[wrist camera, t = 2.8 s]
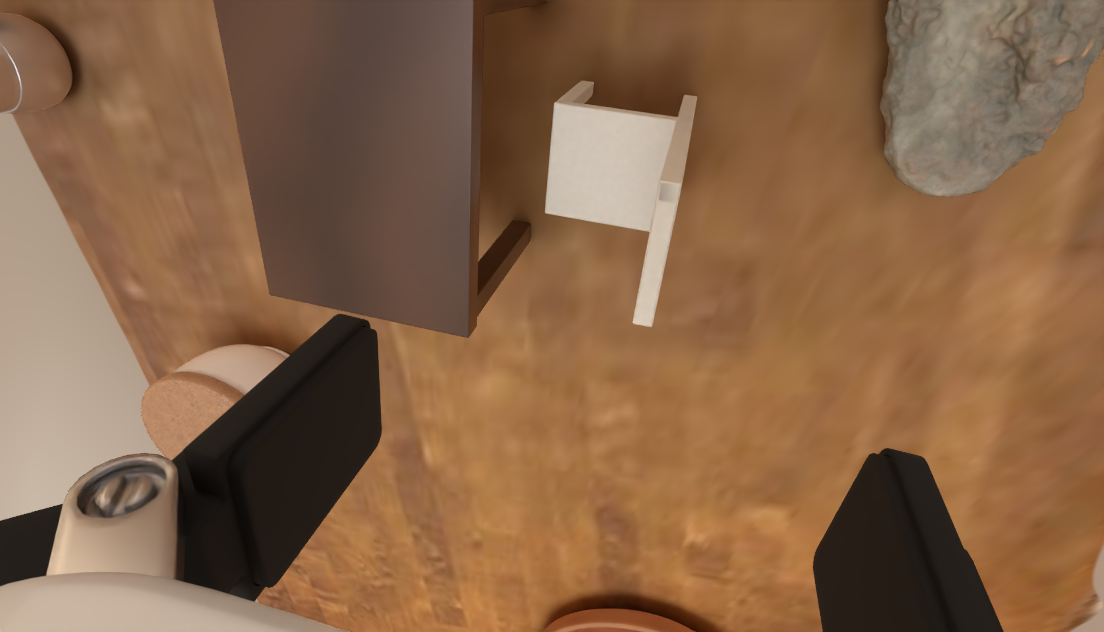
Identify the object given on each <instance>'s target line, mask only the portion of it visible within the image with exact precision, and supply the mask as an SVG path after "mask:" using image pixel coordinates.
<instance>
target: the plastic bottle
mask: <svg viewBox="0 0 1104 632" xmlns="http://www.w3.org/2000/svg"><path fill="white" fill-rule="evenodd" d="M71 86H72V70H71V65H70V62H69V59H68V57H67V55H66V53H65V51H64V49H63V47H62V46H61V44H60V43H59V42H58V40H57V39H56V38H55V37H54V35H52V34H51V33H50V32H49V31H48V30H47V29H46V28H45V27H43V26H42V25H40V24H38V23H36V22H34V21H33V20H31V19H29V18H27V17H25V16H22V15H19V14H12V13H3V12H0V113H29V112H38V111H43V110H45V109H47V108H49V107H52V106H54V105H56V104H58V103H60V102H62V101H63V99H64V98H65V97H66V95H67V94H68V92H69V90H70V88H71Z"/></svg>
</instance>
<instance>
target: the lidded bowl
mask: <svg viewBox="0 0 1104 632" xmlns="http://www.w3.org/2000/svg"><path fill="white" fill-rule="evenodd" d="M289 356H290V355H289V354H287V353H286V352H284V351H282V350H279V349H277V348H274V347H269V346H256V345H250V344H234V345H227V346H223V347H218V348H215V349H213V350H210V351H208V352H205V353H203V354H200V355H198V356H196V357H195V358H193V359H191V360H189V361H187V362H186V363H184V364H183V365H181V366H180V367H178V368H177V369H176V370H174V371H173V372H171V373H170V374H168V375H165V376H163V377H162V378H160V379H159V380H157V381H156V382H154V383H153V384H152V385H150V386H149V388H148V389H147V390H146V391H145V393H144V396H143V398H142V404H141V414H142V419H143V422H144V425H145V427H146V430H147V432H148V434H149V436H150V437H151V439H152V441H153V442H154V444H155V445H156V446H157V448H158V449H159V451H160V452H161V453H162V454H163V455H164V456H165V457H166V458H168V459H170V460H172V459H174V458H175V457H176V456H177V455H178V454H179V453H180V452H182V451H183V449H184V448H185V447H186V446H187V445H189V444H190V443H191V442H192V441H193V440H194V439H195V438H196V437H198V436H199V435H200V434H201V433H202V432H203V431H204V430H206V429H207V428H208V427H209V426H210V425H211V424H212V423H214V422H215V421H216V420H217V419H218V418H219V417H220V416H222V415H223V414H224V413H225V412H226V411H227V410H228V409H229V408H231V407H232V406H233V405H234V404H235V403H236V402H237V401H239V400H240V399H241V398H242V397H243V396H244V395H245V394H247V393H248V392H249V391H250V390H251V389H252V388H253V387H255V386H256V385H257V384H258V383H259V382H260V381H261V380H262V379H264V378H265V377H266V376H267V375H268V374H269V373H270V372H272V371H273V370H274V369H275V368H276V367H277V366H278V365H280V364H281V363H282V362H283V361H284V360H285V359H286V358H287V357H289Z"/></svg>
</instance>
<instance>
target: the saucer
mask: <svg viewBox="0 0 1104 632" xmlns="http://www.w3.org/2000/svg"><path fill="white" fill-rule="evenodd" d="M543 632H695V631H693V630H691V629H689V628H688V627H686V626H684V625H682V624H680V623H677V622H675V621H673V620H670V619H667V618H665V617H662V616H659V615H655V614H651V613H647V612H643V611H637V610H630V609H592V610H584V611H579V612H575V613H571V614H568V615H565V616H563V617H561V618H559V619H557V620H555V621H554V622H552V623H551V624H550V625H549V626H547V628H546V629H545V630H544V631H543Z"/></svg>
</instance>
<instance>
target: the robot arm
mask: <svg viewBox="0 0 1104 632" xmlns="http://www.w3.org/2000/svg"><path fill="white" fill-rule="evenodd" d="M381 432H382V426H381V405H380V383H379V361H378V340H377V333H376V331H375V330H374V329H371V327H370V324H369V322H368V321H367V320H364V319H360V318H356V317H352V316H348V315H344V314H337V315H336V316H334V317H333V318H332V319H331V320H330V321H328V322H327V323H326V324H325V325H324V326H323V327H322V328H320V329H319V330H318V331H317V332H316V333H315V334H314V335H313V336H311V337H310V338H309V339H308V340H307V341H306V342H305V343H303V344H302V345H301V346H300V347H299V348H298V349H297V350H295V351H294V352H293V353H292V354H291V355H290V356H289V357H287V358H286V359H285V360H284V361H283V362H282V363H281V364H280V365H278V366H277V367H276V368H275V369H274V370H273V371H272V372H270V373H269V374H268V375H267V376H266V377H265V378H264V379H262V380H261V381H260V382H259V383H258V384H257V385H256V386H255V387H253V388H252V389H251V390H250V391H249V392H248V393H247V394H245V395H244V396H243V397H242V398H241V399H240V400H239V401H237V402H236V403H235V404H234V405H233V406H232V407H231V408H229V409H228V410H227V411H226V412H225V413H224V414H223V415H222V416H220V417H219V418H218V419H217V420H216V421H215V422H214V423H212V424H211V425H210V426H209V427H208V428H207V429H206V430H204V431H203V432H202V433H201V434H200V435H199V436H198V437H196V438H195V439H194V440H193V441H192V442H191V443H190V444H189V445H187V446H186V447H185V448H184V449H183V451H182V452H180V453H179V454H178V455H177V456H176V457H175V458H174V459H172V460H170V459H168V458H166V457H163V456H161V455H158V454H148V453H141V454H132V455H126V456H122V457H119V458H115V459H112V460H109V461H107V462H105V463H103V464H101V465H99V466H97V467H94V468H93V469H92V470H90V471H89V472H87V473H86V474H84V475H83V476H82V477H80V478H79V479H78V480H77V481H76V482H75V484H74V485H73V486H72V487H71V488H70V489H69V491H68V493H67V495H66V497H65V499H64V502H63V504H60V505H57V506H53V507H49V508H45V509H42V510H38V511H34V512H31V513H27V514H24V515H20V516H16V517H12V518H9V519H5V520H2V521H0V632H348V631H345V630H342V629H339V628H336V627H333V626H330V625H327V624H323V623H320V622H317V621H314V620H311V619H308V618H305V617H302V616H299V615H296V614H293V613H289V612H286V611H283V610H279V609H276V608H273V607H270V606H266V605H263V604H260V603H256V602H254V601H255V600H256V599H257V597H258V596H259V595H260V593H261V592H262V591H263V589H264V588H265V587H268V588H270V587H273V586H274V585H275V584H276V583H277V582H278V581H279V580H280V579H281V577H282V576H283V575H284V573H285V572H286V570H287V569H288V568H289V566H290V565H291V564H292V562H293V561H294V560H295V558H296V557H297V555H298V554H299V553H300V551H301V550H302V549H303V547H304V546H305V544H306V543H307V542H308V540H309V539H310V538H311V536H312V535H313V534H314V532H315V531H316V529H317V528H318V527H319V525H320V524H321V523H322V521H323V520H324V518H325V517H326V516H327V514H328V513H329V512H330V510H331V509H332V508H333V506H334V505H335V503H336V502H337V501H338V499H339V498H340V497H341V495H342V494H343V492H344V491H345V490H346V488H347V487H348V486H349V484H350V483H351V482H352V480H353V479H354V477H355V476H356V475H357V473H358V472H359V471H360V469H361V468H362V466H363V465H364V464H365V462H366V461H367V460H368V458H369V457H370V456H371V454H372V453H373V451H374V450H375V449H376V447H377V445H378V443H379V441H380V437H381ZM813 571H814V578H815V584H816V591H817V597H818V603H819V610H820V616H821V622H822V629H823V632H1003V629H1002V627H1001V625H1000V622H999V620H998V618H997V615H996V613H995V611H994V608H993V606H992V604H991V602H990V599H989V597H988V595H987V592H986V590H985V588H984V585H983V583H982V581H981V578H980V576H979V574H978V572H977V569H976V567H975V565H974V562H973V560H972V558H971V557H970V555H969V553H968V552H967V551H966V550H965V549H964V548H963V546H962V543H961V541H960V539H959V536H958V534H957V532H956V529H955V527H954V525H953V522H952V520H951V517H950V515H949V513H948V510H947V508H946V506H945V503H944V501H943V499H942V496H941V494H940V492H939V489H938V487H937V485H936V482H935V480H934V478H933V475H932V473H931V471H930V468H929V466H928V464H927V462H926V460H925V459H924V458H923V457H921V456H918V455H914V454H910V453H906V452H902V451H897V450H893V449H889V448H886V449H884V450H882V451H881V452H880V454H875V453H872V454H870V455H869V456H868V458H867V459H866V461H865V463H864V464H863V466H862V468H861V470H860V472H859V473H858V475H857V477H856V479H855V481H854V482H853V484H852V486H851V488H850V490H849V492H848V493H847V495H846V497H845V499H844V501H843V502H842V504H841V506H840V508H839V510H838V511H837V513H836V515H835V517H834V519H833V520H832V522H831V524H830V526H829V528H828V529H827V531H826V533H825V535H824V537H823V539H822V540H821V542H820V544H819V546H818V548H817V550H816V552H815V556H814V561H813Z"/></svg>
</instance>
